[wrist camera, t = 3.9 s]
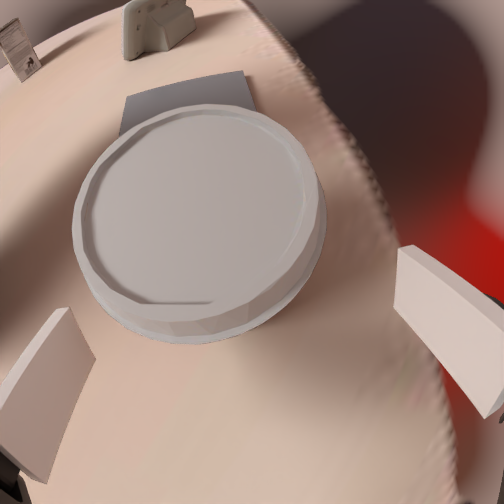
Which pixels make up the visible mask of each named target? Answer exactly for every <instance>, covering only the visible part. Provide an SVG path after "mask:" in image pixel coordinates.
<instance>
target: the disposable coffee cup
mask: <svg viewBox="0 0 504 504" xmlns="http://www.w3.org/2000/svg"><path fill="white" fill-rule="evenodd" d="M326 230H327V208H326V202H325V196H324V191H323V189H322V186H321V184H320V181H319V179H318V176H317V174H316V172H315V170H314V167H313V164H312V162H311V160H310V158H309V156H308V154H307V153H306V151H305V149H304V147H303V146H302V145H301V143H300V142H299V141H298V140H297V139H296V138H295V137H294V136H293V135H292V134H291V133H290V132H289V131H288V130H287V129H286V128H285V127H283V126H282V125H280V124H279V123H277V122H275V121H274V120H272V119H271V118H269V117H267V116H266V115H264V114H261V113H258V112H255V111H251V110H248V109H245V108H241V107H238V106H232V105H218V104H201V105H193V106H186V107H181V108H177V109H173V110H170V111H167V112H163V113H161V114H159V115H157V116H155V117H153V118H150V119H148V120H146V121H144V122H142V123H140V124H138V125H137V126H135V127H133V128H131V129H130V130H129V131H127V132H126V133H125V134H123V135H122V136H121V137H119V138H118V139H117V140H115V141H114V142H113V143H112V144H111V145H110V146H109V147H108V148H107V149H106V150H105V151H104V152H103V153H102V154H101V156H100V157H99V158H98V159H97V161H96V162H95V164H94V165H93V166H92V168H91V169H90V171H89V172H88V174H87V176H86V178H85V180H84V182H83V184H82V186H81V189H80V191H79V194H78V196H77V199H76V202H75V206H74V213H73V221H72V238H73V248H74V251H75V254H76V257H77V260H78V263H79V266H80V269H81V271H82V273H83V274H84V278H85V280H86V282H87V284H88V286H89V288H90V290H91V292H92V294H93V296H94V298H95V299H96V300H97V301H98V303H99V304H100V305H101V306H102V308H103V309H104V310H105V311H106V312H107V313H108V314H109V315H110V316H111V317H112V318H114V319H115V320H116V321H118V322H119V323H120V324H121V325H123V326H124V327H125V328H127V329H129V330H131V331H133V332H135V333H138V334H140V335H142V336H145V337H147V338H149V339H152V340H157V341H162V342H167V343H172V344H206V343H211V342H216V341H220V340H224V339H228V338H231V337H235V336H238V335H240V334H243V333H245V332H247V331H249V330H251V329H253V328H255V327H257V326H259V325H261V324H262V323H264V322H265V321H267V320H268V319H270V318H271V317H272V316H274V315H275V314H277V313H278V312H279V311H280V310H282V309H283V308H284V307H285V306H286V305H287V304H288V303H289V302H290V301H291V300H292V299H293V298H294V297H295V296H296V295H297V293H298V292H299V291H300V290H301V288H302V287H303V286H304V285H305V283H306V282H307V280H308V279H309V277H310V276H311V274H312V272H313V270H314V268H315V266H316V264H317V262H318V260H319V258H320V255H321V251H322V247H323V243H324V239H325V235H326Z"/></svg>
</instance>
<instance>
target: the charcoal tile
mask: <svg viewBox="0 0 504 504" xmlns="http://www.w3.org/2000/svg"><path fill="white" fill-rule="evenodd" d="M201 104H218V105H232V106H238V107H241V108H245V109H248V110H251V111H255V112H257V111H256V108H255V105H254V102H253V99H252V96H251V93H250V90H249V87H248V84H247V81H246V79H245V76H244V73H243V70H242V71H235V72H229V73H223V74H217V75H211V76H206V77H201V78H196V79H191V80H186V81H182V82H178V83H174V84H170V85H166V86H162V87H158V88H154V89H151V90H147V91H144V92H140V93H137V94H134V95H131V96H127V98H126V103H125V107H124V112H123V117H122V122H121V128H120V133H119V137H121V136H122V135H123V134H125V133H126V132H127V131H129V130H130V129H131V128H133V127H135V126H137V125H138V124H140V123H142V122H144V121H146V120H148V119H150V118H153V117H155V116H157V115H159V114H161V113H163V112H167V111H170V110H173V109H177V108H181V107H186V106H193V105H201Z"/></svg>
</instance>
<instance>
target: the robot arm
mask: <svg viewBox="0 0 504 504" xmlns="http://www.w3.org/2000/svg"><path fill="white" fill-rule="evenodd" d="M393 308H394V309H395V310H396V311H397V312H398V313H399V314H400V316H401V317H402V318H403V319H404V320H405V321H406V322H407V324H408V325H409V326H410V327H411V328H412V329H413V330H414V332H415V333H416V334H417V335H418V336H419V337H420V338H421V340H422V341H423V342H424V343H425V344H426V346H427V347H428V348H429V349H430V350H431V351H432V353H433V354H434V355H435V356H436V358H437V359H438V360H439V361H440V362H441V364H442V365H443V366H444V367H445V369H446V370H447V371H448V372H449V373H450V375H451V376H452V377H453V378H454V380H455V381H456V382H457V384H458V385H459V386H460V387H461V389H462V390H463V391H464V392H465V394H466V395H467V396H468V398H469V399H470V400H471V402H472V403H473V404H474V405H475V407H476V408H477V410H478V411H479V412H480V414H481V415H482V417H483V418H484V419H485V418H487V417H488V416H489V415H491V414H492V413H494V412H495V411H496V410H497V409H499V408H500V407H501V406H502V404H503V402H504V304H503V303H501V302H500V301H499V300H497V299H496V298H494V297H492V296H489V295H487V294H485V293H481V292H480V291H479V290H478V289H476V288H475V287H474V286H472V285H471V284H470V283H468V282H467V281H466V280H464V279H462V278H461V277H460V276H459V275H457V274H456V273H454V272H453V271H452V270H450V269H449V268H447V267H446V266H444V265H443V264H441V263H440V262H438V261H437V260H436V259H434V258H433V257H431V256H430V255H428V254H427V253H425V252H424V251H422V250H420V249H419V248H418V247H416V246H414V245H410V246H405V247H400V248H398V256H397V273H396V287H395V298H394V307H393ZM95 360H96V358H95V356H94V355H93V353H92V351H91V349H90V347H89V345H88V344H87V342H86V340H85V338H84V336H83V334H82V332H81V330H80V328H79V326H78V324H77V322H76V320H75V318H74V316H73V314H72V311H71V309H70V307H66V308H59V309H56V310H55V311H54V312H53V314H52V315H51V316H50V317H49V319H48V320H47V321H46V322H45V324H44V325H43V326H42V327H41V329H40V330H39V331H38V333H37V334H36V335H35V337H34V338H33V339H32V341H31V342H30V343H29V345H28V346H27V347H26V349H25V350H24V351H23V353H22V354H21V356H20V357H19V358H18V360H17V361H16V363H15V364H14V366H13V367H12V369H11V370H10V372H9V373H8V374H7V376H6V378H5V379H4V381H3V382H2V384H1V385H0V504H32V503H31V500H30V497H29V494H28V491H27V488H26V484H25V482H24V480H23V478H22V477H21V476H20V475H19V472H20V470H21V471H22V472H24V473H25V474H26V475H27V476H28V477H30V478H31V479H33V480H36V481H38V482H41V483H44V484H47V482H48V479H49V476H50V473H51V469H52V466H53V463H54V460H55V458H56V455H57V452H58V449H59V446H60V443H61V441H62V438H63V435H64V433H65V430H66V427H67V425H68V422H69V420H70V417H71V415H72V412H73V410H74V408H75V405H76V403H77V400H78V398H79V396H80V393H81V391H82V389H83V386H84V384H85V382H86V380H87V377H88V375H89V373H90V371H91V369H92V367H93V364H94V362H95ZM503 421H504V413H503V414H502V416H501V417H500V421H499V423H502V422H503ZM497 504H504V471H503V477H502V483H501V488H500V493H499V498H498V502H497Z"/></svg>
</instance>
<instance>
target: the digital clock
mask: <svg viewBox="0 0 504 504" xmlns="http://www.w3.org/2000/svg"><path fill="white" fill-rule="evenodd" d="M185 4H186V0H132V1H130V2H129V3H127V4H125V5H124V7H123V9H122V55H123V58H124V60H132V59H135V58H136V57H138V56H139V55H140V54H141V53H143V52H153V51H169V50H170V49H171V48H172V47H173V46H175V45H176V44H177V43H178V42H180V41H181V40H182V39H183V38H185V37H186V36H187V35H188V34H190V33H191V32H192V31H194V30H195V29H196V25H195V19H194V14H193V10H192V9H191V8H190V7H188V6H186V5H185Z"/></svg>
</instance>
